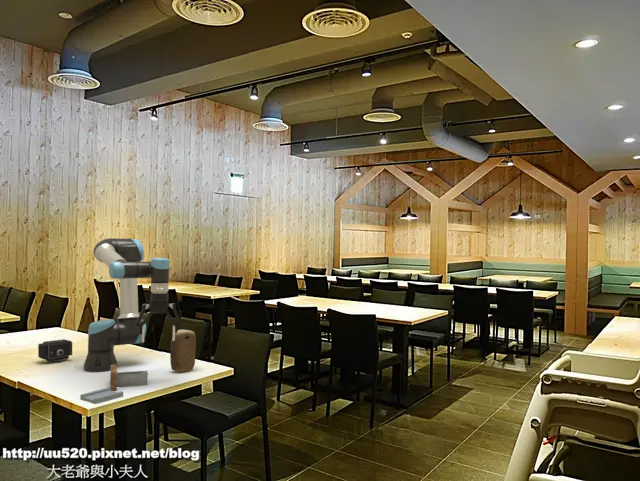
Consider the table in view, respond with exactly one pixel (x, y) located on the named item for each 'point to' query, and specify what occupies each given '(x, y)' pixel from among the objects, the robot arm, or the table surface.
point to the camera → (55, 350)
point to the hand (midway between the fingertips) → (158, 341)
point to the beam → (113, 378)
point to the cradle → (100, 395)
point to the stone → (183, 351)
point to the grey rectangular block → (132, 378)
